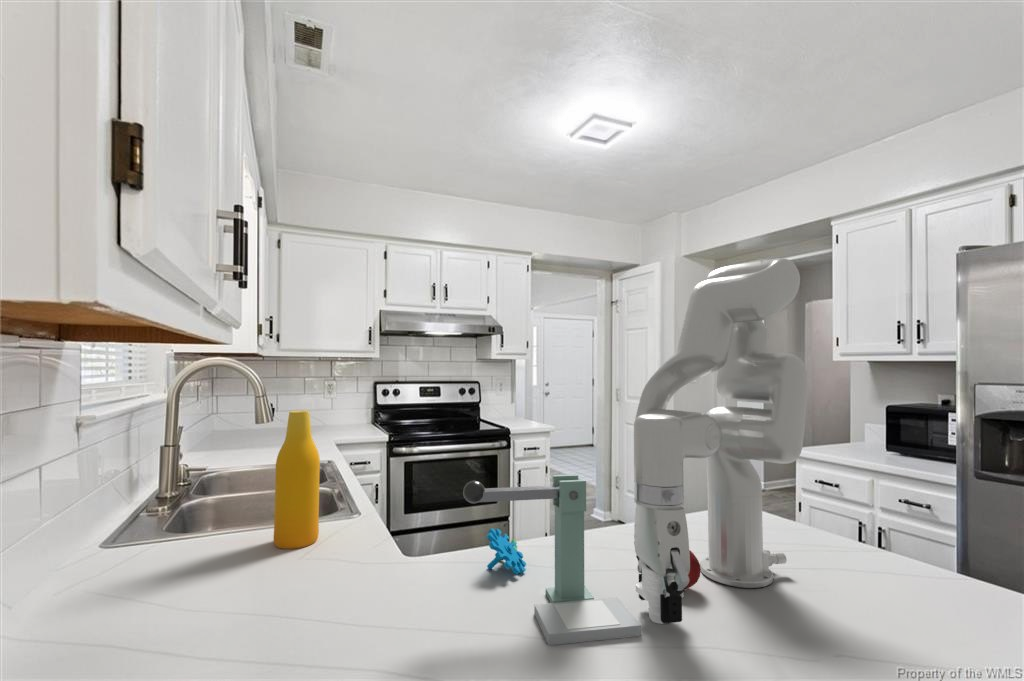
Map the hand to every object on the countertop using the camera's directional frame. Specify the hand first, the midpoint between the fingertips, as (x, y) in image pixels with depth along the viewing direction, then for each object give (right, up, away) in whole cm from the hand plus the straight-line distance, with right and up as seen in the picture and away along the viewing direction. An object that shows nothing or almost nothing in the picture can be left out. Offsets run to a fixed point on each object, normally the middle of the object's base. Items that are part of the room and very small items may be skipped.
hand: (659, 608), depth 78 cm
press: (-12, -2, +1) cm, 12 cm away
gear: (-24, -3, +19) cm, 31 cm away
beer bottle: (-71, -3, +34) cm, 79 cm away
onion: (+7, -2, +11) cm, 13 cm away
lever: (-21, +15, +6) cm, 27 cm away
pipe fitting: (0, -2, 0) cm, 2 cm away
